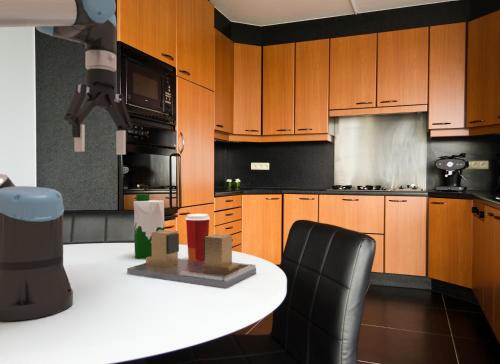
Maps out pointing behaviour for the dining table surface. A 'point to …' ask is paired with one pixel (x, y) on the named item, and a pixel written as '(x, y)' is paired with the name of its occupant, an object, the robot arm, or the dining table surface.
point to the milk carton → (146, 223)
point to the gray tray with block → (183, 265)
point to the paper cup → (196, 235)
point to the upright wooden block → (219, 255)
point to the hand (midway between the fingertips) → (101, 153)
